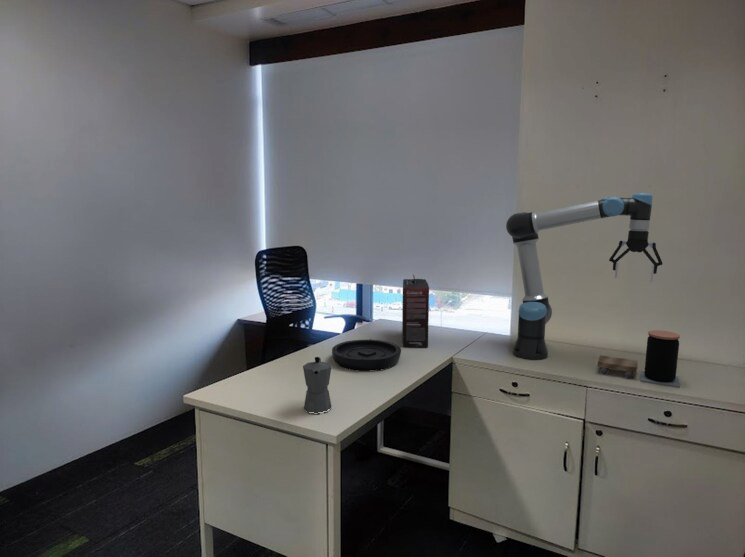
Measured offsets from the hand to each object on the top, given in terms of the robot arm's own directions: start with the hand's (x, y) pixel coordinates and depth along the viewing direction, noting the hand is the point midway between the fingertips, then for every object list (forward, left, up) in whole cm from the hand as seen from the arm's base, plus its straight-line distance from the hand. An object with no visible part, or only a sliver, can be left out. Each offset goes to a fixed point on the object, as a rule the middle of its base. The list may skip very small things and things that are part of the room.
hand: (633, 279), depth 212 cm
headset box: (-93, -20, -36) cm, 102 cm away
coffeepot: (-87, -110, -36) cm, 145 cm away
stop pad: (+13, -21, -36) cm, 43 cm away
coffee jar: (+13, -21, -35) cm, 43 cm away
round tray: (-98, -59, -36) cm, 120 cm away
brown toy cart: (-2, -21, -36) cm, 42 cm away
